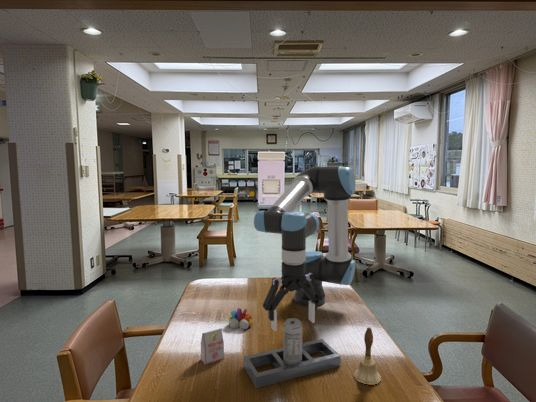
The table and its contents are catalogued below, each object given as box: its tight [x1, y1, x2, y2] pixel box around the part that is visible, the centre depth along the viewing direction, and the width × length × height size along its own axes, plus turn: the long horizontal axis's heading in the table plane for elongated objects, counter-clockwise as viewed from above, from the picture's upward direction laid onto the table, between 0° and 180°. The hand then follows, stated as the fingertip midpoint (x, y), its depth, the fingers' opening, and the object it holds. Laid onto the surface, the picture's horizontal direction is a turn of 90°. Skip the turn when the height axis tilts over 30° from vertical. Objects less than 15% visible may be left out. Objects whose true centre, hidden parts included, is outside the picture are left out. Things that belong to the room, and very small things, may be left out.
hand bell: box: [353, 326, 382, 385], centre depth 106 cm, size 8×8×16 cm
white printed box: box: [200, 328, 225, 366], centre depth 115 cm, size 4×7×10 cm, turn 121°
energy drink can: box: [282, 317, 303, 366], centre depth 111 cm, size 6×6×15 cm
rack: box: [242, 338, 342, 389], centre depth 112 cm, size 30×12×4 cm, turn 113°
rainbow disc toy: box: [228, 307, 254, 330], centre depth 139 cm, size 8×10×7 cm
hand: (293, 325), depth 111 cm, fingers open, 13 cm apart
